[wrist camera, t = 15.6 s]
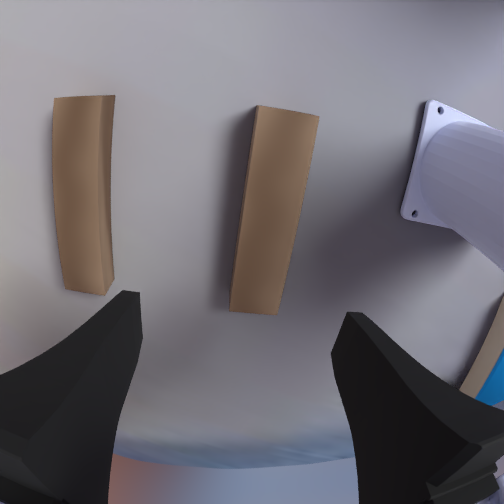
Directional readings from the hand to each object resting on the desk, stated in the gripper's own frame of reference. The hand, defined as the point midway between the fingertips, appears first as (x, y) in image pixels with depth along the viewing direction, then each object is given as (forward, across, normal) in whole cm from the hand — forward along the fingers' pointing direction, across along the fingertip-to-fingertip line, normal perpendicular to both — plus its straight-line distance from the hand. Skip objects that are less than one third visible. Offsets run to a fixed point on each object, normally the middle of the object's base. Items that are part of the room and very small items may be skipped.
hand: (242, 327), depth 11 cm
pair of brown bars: (+9, +4, -1) cm, 10 cm away
